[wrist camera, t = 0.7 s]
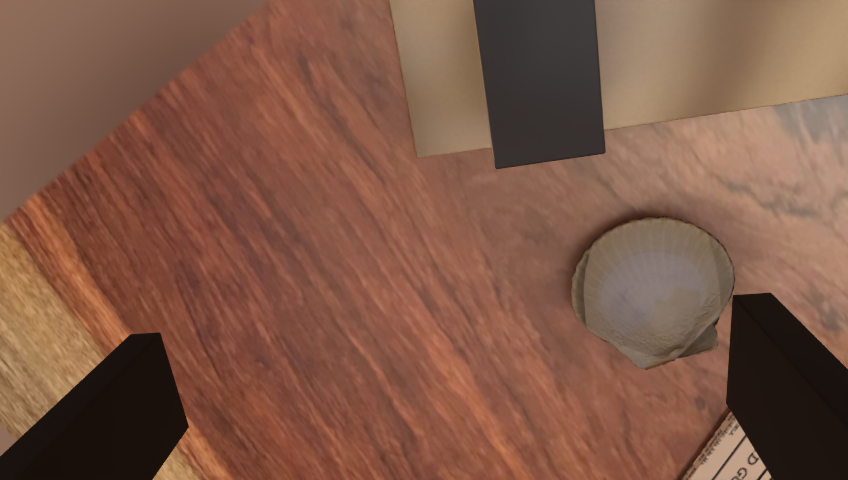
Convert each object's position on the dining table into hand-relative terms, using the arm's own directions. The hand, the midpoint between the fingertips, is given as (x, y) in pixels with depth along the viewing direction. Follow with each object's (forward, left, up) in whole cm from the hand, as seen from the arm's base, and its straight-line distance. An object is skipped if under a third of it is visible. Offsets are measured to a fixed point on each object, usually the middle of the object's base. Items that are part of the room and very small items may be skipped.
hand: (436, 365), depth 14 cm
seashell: (+9, +7, -20) cm, 23 cm away
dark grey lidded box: (-4, +5, -18) cm, 19 cm away
